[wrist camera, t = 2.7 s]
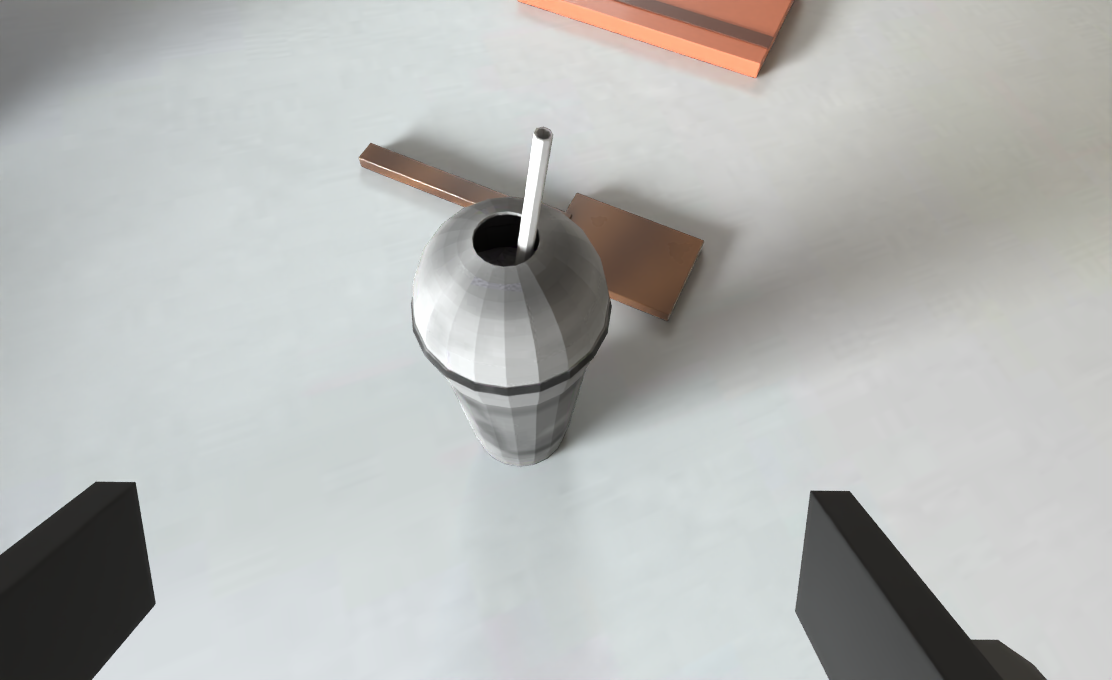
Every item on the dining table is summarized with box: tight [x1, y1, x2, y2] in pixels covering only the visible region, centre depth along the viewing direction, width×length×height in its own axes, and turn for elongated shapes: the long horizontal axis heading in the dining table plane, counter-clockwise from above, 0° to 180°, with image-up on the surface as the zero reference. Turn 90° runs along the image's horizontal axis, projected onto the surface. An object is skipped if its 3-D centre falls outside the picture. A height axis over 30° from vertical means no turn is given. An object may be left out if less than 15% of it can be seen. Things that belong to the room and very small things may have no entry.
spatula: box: [359, 143, 704, 321], centre depth 42 cm, size 21×6×1 cm, turn 65°
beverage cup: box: [411, 127, 612, 466], centre depth 27 cm, size 7×7×20 cm
